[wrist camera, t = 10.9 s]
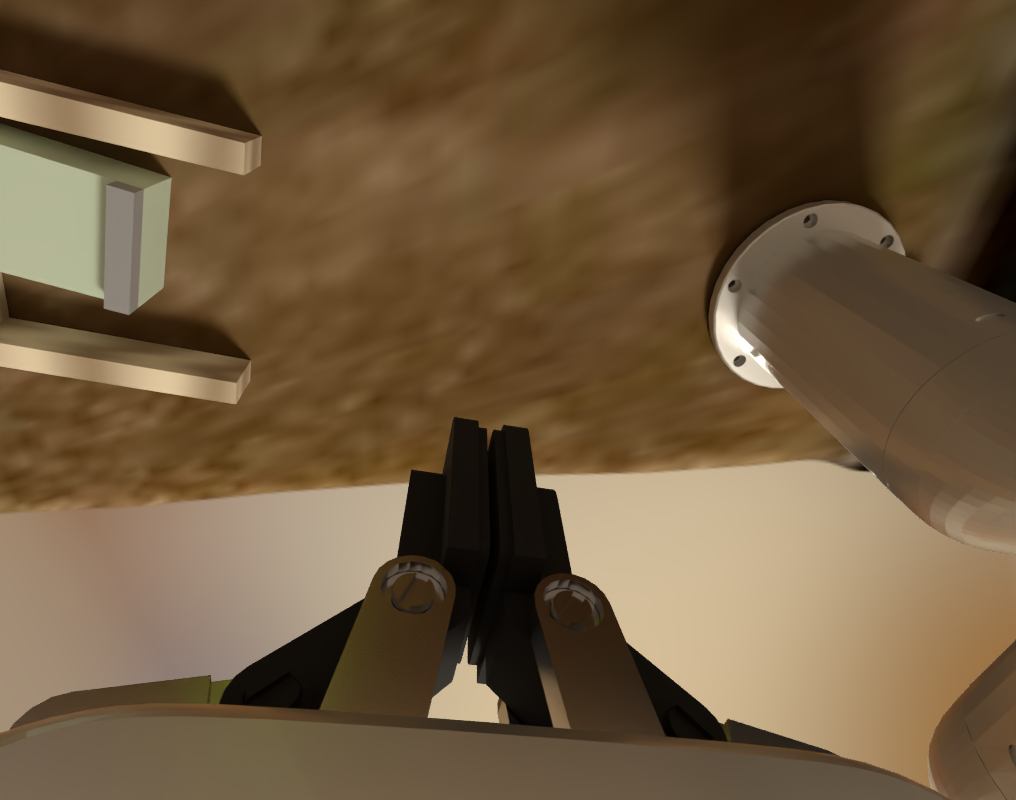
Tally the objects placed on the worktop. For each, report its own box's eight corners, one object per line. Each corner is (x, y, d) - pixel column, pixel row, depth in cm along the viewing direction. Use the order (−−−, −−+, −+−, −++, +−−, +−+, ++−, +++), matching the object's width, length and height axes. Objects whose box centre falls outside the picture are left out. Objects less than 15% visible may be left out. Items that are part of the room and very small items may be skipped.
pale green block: (173, 176, 31) (134, 193, 27) (165, 286, 34) (129, 315, 30) (3, 122, 29) (-65, 131, 25) (10, 243, 32) (-50, 268, 28)
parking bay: (261, 136, 30) (244, 143, 28) (250, 380, 37) (235, 404, 35) (-72, 51, 27) (-126, 50, 25) (-16, 335, 34) (-53, 357, 32)
